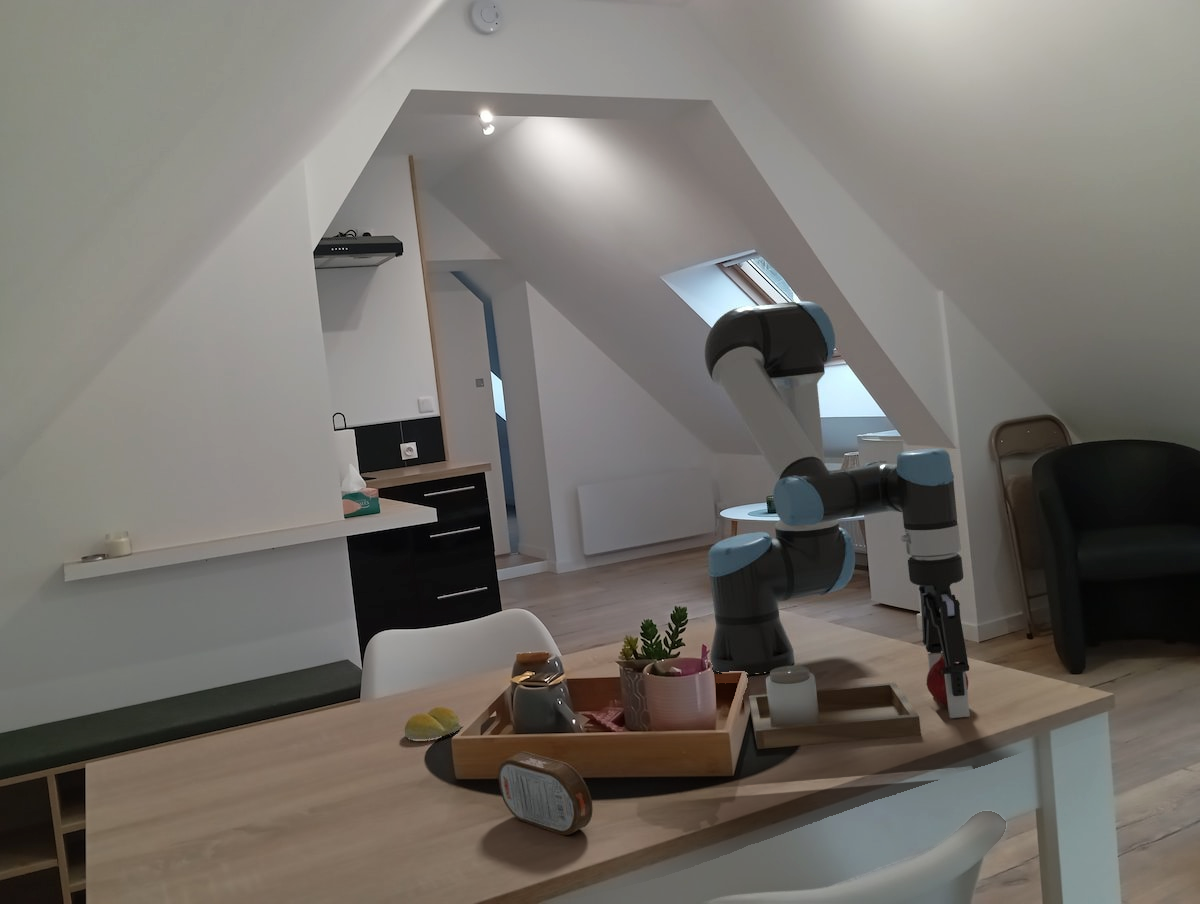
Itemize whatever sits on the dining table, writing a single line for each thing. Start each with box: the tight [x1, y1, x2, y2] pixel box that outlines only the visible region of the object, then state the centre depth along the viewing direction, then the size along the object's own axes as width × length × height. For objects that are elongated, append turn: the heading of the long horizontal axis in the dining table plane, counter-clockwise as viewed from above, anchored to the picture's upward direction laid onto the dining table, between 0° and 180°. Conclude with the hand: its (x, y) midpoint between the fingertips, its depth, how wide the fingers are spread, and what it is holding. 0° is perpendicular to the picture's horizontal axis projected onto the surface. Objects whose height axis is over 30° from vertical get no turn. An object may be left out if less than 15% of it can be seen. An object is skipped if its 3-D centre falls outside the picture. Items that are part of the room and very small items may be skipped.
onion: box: [926, 654, 969, 708], centre depth 146 cm, size 6×6×8 cm
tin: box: [497, 750, 594, 836], centre depth 122 cm, size 15×3×8 cm, turn 44°
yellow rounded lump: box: [404, 706, 462, 739], centre depth 164 cm, size 8×9×4 cm
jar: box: [765, 665, 820, 727], centre depth 144 cm, size 7×7×8 cm
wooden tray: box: [748, 681, 922, 750], centre depth 143 cm, size 16×22×4 cm
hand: (950, 705), depth 146 cm, fingers open, 9 cm apart
